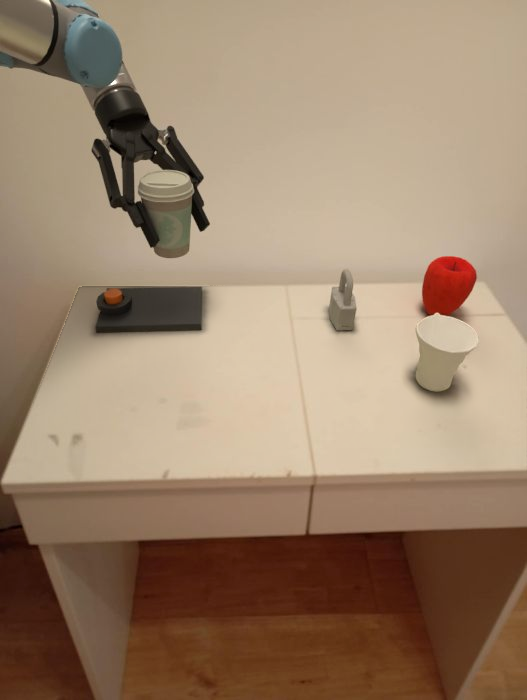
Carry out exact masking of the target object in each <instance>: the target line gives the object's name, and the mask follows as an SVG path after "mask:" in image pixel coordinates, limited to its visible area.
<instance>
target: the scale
mask: <svg viewBox="0 0 527 700" xmlns="http://www.w3.org/2000/svg"><path fill="white" fill-rule="evenodd" d="M109 289H119V290H120V291H121V292H122V298H123V300H122V302H120V303H118V304H107V303H106V301H105V297H104V293H105V291H107V290H109ZM105 291H104V292H102V293H101V294H99V295H98V296H97V298H96V306H97V310H98V311H99V313H98V316H97V320H96V323H95V331H96V333H97V334H98V333H99V334H100V333H137V332H173V331H174V332H175V331H177V332H178V331H202V322H203V286H167V287H166V286H157V287H154V286H152V287H107V288H106V289H105Z"/></svg>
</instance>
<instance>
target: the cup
mask: <svg viewBox="0 0 527 700" xmlns="http://www.w3.org/2000/svg"><path fill="white" fill-rule="evenodd" d="M415 333H416V338H417V341H418V347H419V348H418V351H419V357H418V361H417V362H418V363H417V368H416V372H415V380H416V381H417V383H418V384H419V386H420V387H422V388H423V389H425V390H427V391H429V392H439V393H440V392H443V391H446V390H448V389H449V388H450V387H451V386H452V382H453V378H454V376H455V373H456V371H458V368H459V367H460V365H461V364H462V363H463V361H464V360H465V358H466V357H467V356H469V354H470V353H472V352H473V351H474V350H475V349H476V348H477V347H478V345H479V339H480V338H479V335H478V333H477V332H476V330H475V329H474V328H473V327H472V326H471V325H469V324H468V323H467V322H465V321H463V320H461V319H459V318H456V317H453V316H450V315H449V316H443V315H440V314H439V313H435V314H434V315H432V316H431V315H428V316H426V317H424V318H422V319H420V321H418V323H417V324H416V327H415Z"/></svg>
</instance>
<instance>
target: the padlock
mask: <svg viewBox="0 0 527 700" xmlns="http://www.w3.org/2000/svg"><path fill="white" fill-rule="evenodd" d="M353 289H354V279H353V275H352V272H351V271H350V269H348V268H344V269H343V270H342V271H341V275H340V278H339V284H338V286H332V287H331V293H330V299H329V306H328V313H329V320H330V322H331V323H332V325H333V326H334V328H335V330H336V331H353V328H354V324H355V319H356V313H357V301H356V296H355V295H354V294H353Z"/></svg>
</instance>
